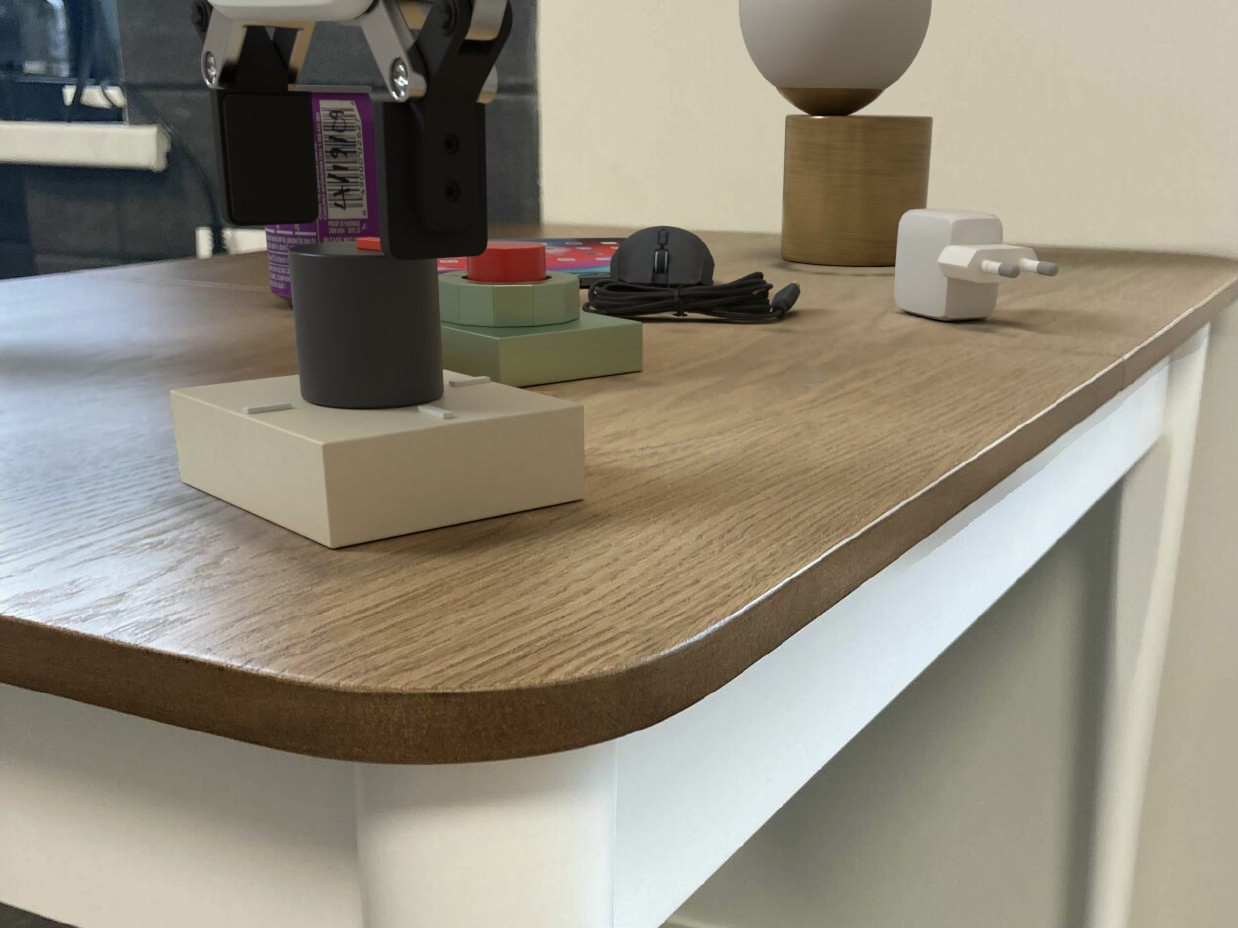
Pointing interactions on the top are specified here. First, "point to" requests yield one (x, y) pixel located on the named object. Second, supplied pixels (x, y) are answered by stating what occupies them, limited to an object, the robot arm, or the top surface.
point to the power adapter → (957, 263)
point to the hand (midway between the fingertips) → (347, 239)
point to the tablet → (562, 257)
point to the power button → (508, 262)
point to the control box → (379, 456)
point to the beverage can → (333, 179)
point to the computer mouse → (680, 281)
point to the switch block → (531, 332)
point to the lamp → (843, 122)
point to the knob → (365, 325)
